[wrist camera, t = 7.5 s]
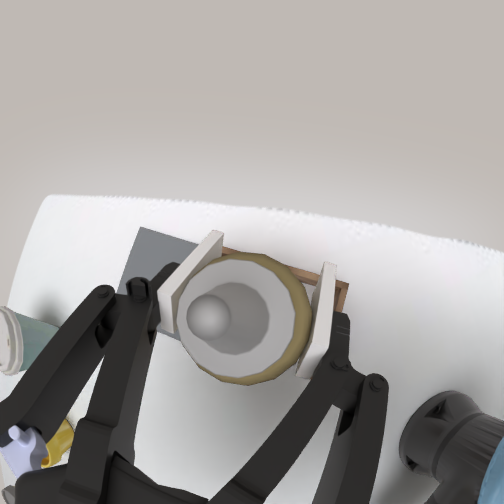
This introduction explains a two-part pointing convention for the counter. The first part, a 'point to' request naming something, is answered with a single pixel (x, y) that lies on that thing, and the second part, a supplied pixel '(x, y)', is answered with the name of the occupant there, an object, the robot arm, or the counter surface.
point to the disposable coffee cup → (21, 340)
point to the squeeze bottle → (244, 318)
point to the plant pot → (58, 445)
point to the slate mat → (154, 259)
